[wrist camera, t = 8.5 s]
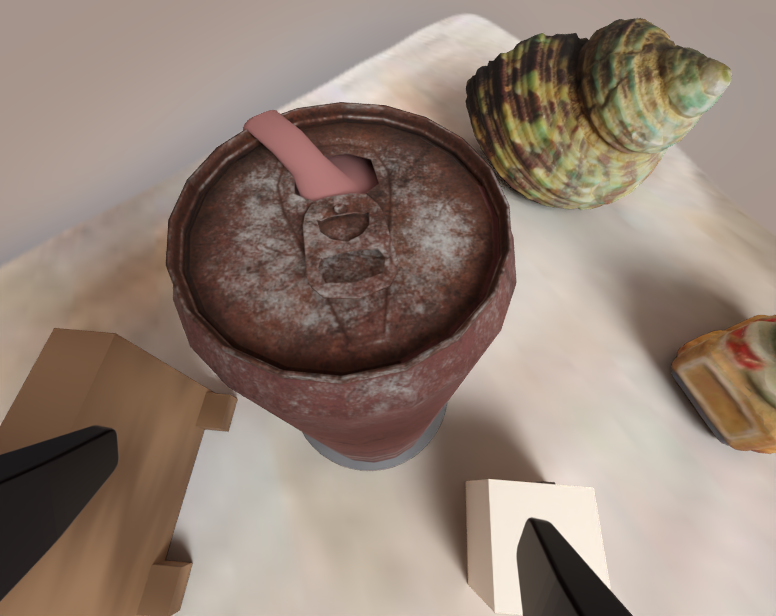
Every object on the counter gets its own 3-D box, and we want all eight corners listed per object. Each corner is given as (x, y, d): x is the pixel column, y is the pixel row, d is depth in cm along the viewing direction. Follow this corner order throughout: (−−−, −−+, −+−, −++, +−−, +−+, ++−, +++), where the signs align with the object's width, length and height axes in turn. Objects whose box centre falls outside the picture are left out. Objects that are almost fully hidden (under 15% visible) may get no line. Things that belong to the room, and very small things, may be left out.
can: (366, 316, 20) (334, 42, 8) (456, 394, 18) (610, 199, 6) (283, 397, 18) (51, 205, 6) (374, 492, 16) (333, 526, 4)
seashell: (558, 111, 30) (635, -49, 21) (651, 210, 25) (801, 57, 16) (444, 142, 28) (476, -22, 19) (523, 255, 23) (614, 108, 14)
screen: (177, 616, 15) (-13, 737, 7) (71, 605, 15) (-218, 715, 8) (238, 395, 19) (152, 336, 12) (154, 387, 19) (17, 324, 12)
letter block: (560, 592, 15) (616, 623, 12) (467, 584, 15) (494, 612, 12) (548, 485, 17) (593, 484, 14) (465, 478, 17) (488, 475, 14)
